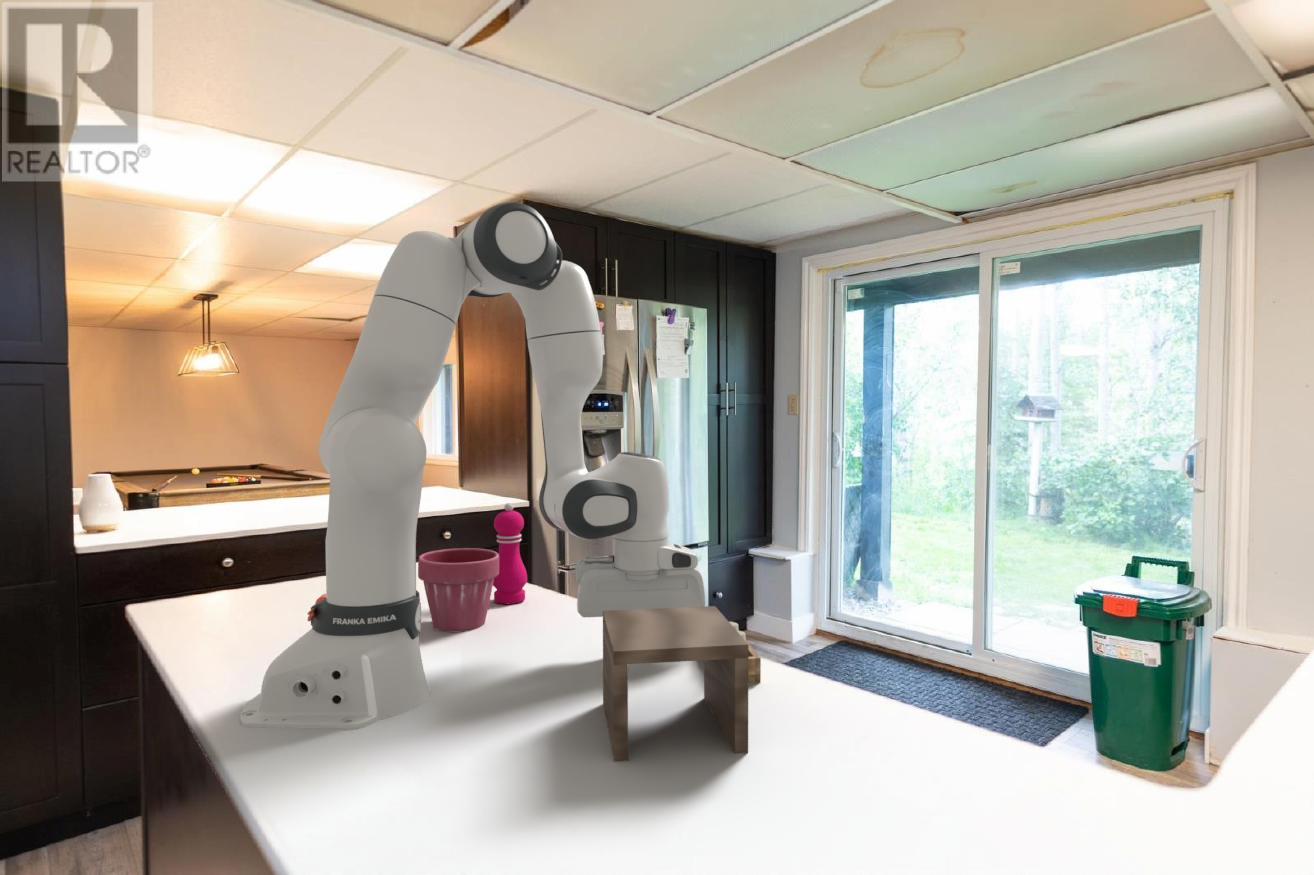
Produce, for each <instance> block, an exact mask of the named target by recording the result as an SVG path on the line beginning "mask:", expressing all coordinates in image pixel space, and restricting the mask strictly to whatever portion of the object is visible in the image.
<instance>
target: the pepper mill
mask: <svg viewBox="0 0 1314 875" xmlns="http://www.w3.org/2000/svg"><path fill="white" fill-rule="evenodd" d="M503 508H504V511H502V512H499V513H498V514H497V515H496V516H495V518H494V521H493V527H494V529H495V531H496V532H497V533H498V534H497V535H496V542H497V543H498V554H499V574H498V576H496V577H495V578H494V581H493V587H494V588H495V589H496V590H495V591H494V592H493V600H494V603H496V604H502V605H510V604H517V603H518V604H519V603H522V602H524V601H525V600H526V591H525V589H523V588H524V587H525V585H526V584H527V582H528V573H527V569H526V567H525V565H524V563H523V559H522V557H521V554H520V552H521V551H520V542H521V541H522V534H521V531H522V530H523V529H524V525H525V521H524V517H523V516H522V514H521V513H520V512H519V511H516V510H514V505H513V503H511V502H508V503H506V504H505V505H504V507H503Z"/></svg>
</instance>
